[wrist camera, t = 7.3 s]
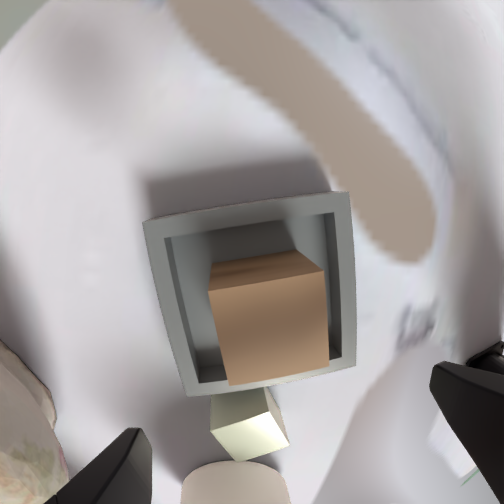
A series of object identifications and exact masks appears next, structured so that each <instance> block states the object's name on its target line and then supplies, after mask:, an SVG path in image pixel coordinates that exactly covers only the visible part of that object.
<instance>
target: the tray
mask: <svg viewBox="0 0 504 504" xmlns="http://www.w3.org/2000/svg"><path fill="white" fill-rule="evenodd" d="M142 223H143V229H144V234H145V240H146V245H147V250H148V255H149V260H150V264H151V269H152V273H153V278H154V282H155V287H156V291H157V295H158V299H159V303H160V307H161V311H162V315H163V319H164V323H165V326H166V330H167V334H168V337H169V341H170V344H171V348H172V351H173V355H174V358H175V361H176V364H177V368H178V371H179V374H180V377H181V380H182V383H183V386H184V389H185V392H186V395H187V397H195V396H204V395H213V394H221V393H229V392H236V391H242V390H249V389H255V388H261V387H267V386H272V385H277V384H282V383H287V382H292V381H297V380H302V379H306V378H310V377H315V376H319V375H323V374H327V373H331V372H335V371H339V370H343V369H346V368H350V367H353V366H356V341H357V313H356V277H355V257H354V242H353V229H352V217H351V207H350V198H349V192H340V191H331V192H322V193H314V194H306V195H297V196H290V197H282V198H274V199H267V200H260V201H253V202H246V203H239V204H233V205H226V206H220V207H214V208H208V209H202V210H196V211H190V212H184V213H178V214H173V215H167V216H162V217H156V218H152V219H150V220H147V221H144V222H142ZM295 249H297V250H298V251H299V252H301V253H302V254H303V255H304V256H306V257H307V258H308V259H310V260H311V261H312V262H313V263H315V264H316V265H317V266H318V267H320V268H321V269H322V270H323V271H324V278H325V290H326V305H327V321H328V341H329V367H325V368H321V369H316V370H312V371H308V372H304V373H299V374H294V375H290V376H285V377H280V378H275V379H270V380H264V381H259V382H253V383H247V384H241V385H234V386H229V383H228V379H227V375H226V371H225V367H224V363H223V358H222V354H221V350H220V345H219V341H218V336H217V332H216V327H215V323H214V318H213V313H212V309H211V304H210V299H209V294H208V287H209V280H210V273H211V266H212V263H217V262H223V261H229V260H235V259H241V258H247V257H253V256H259V255H265V254H271V253H277V252H283V251H289V250H295Z"/></svg>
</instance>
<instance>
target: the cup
mask: <svg viewBox="0 0 504 504" xmlns="http://www.w3.org/2000/svg"><path fill="white" fill-rule="evenodd" d="M181 504H291V501H290V497H289V493H288V489H287V485H286V482H285V480H284V478H283V477H282V476H281V474H279V473H278V472H277V471H276V470H274V469H273V468H270V467H268V466H266V465H263V464H260V463H256V462H250V461H242V462H238V463H237V462H236V461H221V462H215V463H211V464H207V465H204V466H202V467H199V468H197V469H196V470H194V471H192V472H191V473H190V474H189V475H188V476H187V477H186V478H185V480H184V482H183V485H182V492H181Z"/></svg>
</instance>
